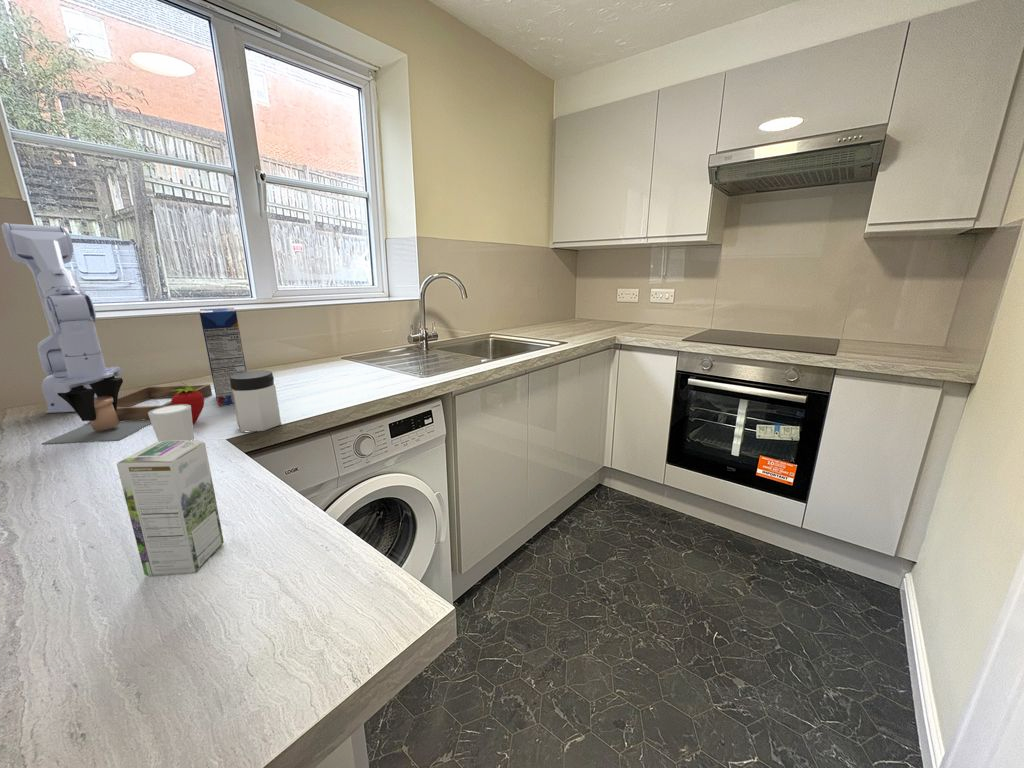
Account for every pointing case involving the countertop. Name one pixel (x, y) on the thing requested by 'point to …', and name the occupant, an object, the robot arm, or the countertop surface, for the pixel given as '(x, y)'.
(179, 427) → the white tapered pot
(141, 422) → the slate mat
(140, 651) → the countertop surface
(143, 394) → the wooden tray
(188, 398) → the strawberry
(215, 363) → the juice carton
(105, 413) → the wooden drawer knob
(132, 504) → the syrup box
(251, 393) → the jar
